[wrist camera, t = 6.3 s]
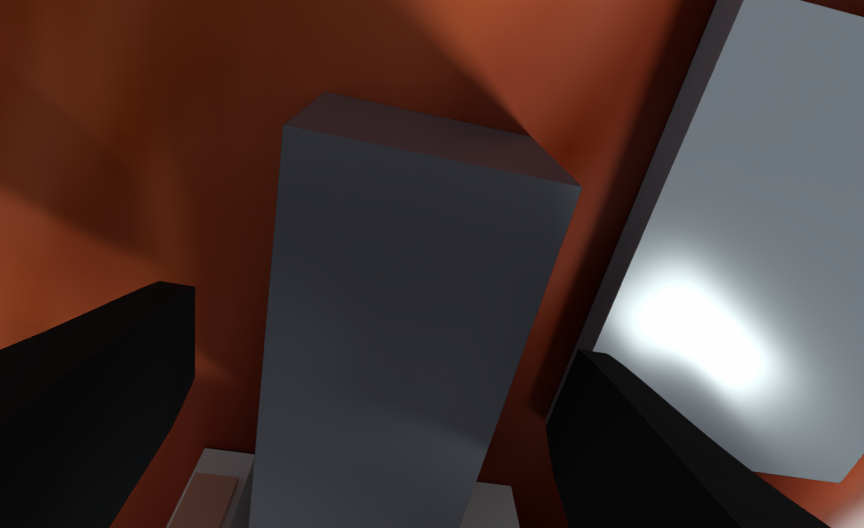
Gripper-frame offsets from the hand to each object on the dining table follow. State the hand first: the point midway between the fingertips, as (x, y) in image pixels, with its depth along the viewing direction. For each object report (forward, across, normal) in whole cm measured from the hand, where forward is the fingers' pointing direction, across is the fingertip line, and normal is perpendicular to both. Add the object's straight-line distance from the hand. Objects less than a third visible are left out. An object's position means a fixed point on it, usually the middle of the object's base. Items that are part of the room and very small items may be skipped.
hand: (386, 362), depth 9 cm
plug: (+2, 0, 0) cm, 2 cm away
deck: (+2, -8, -2) cm, 9 cm away
